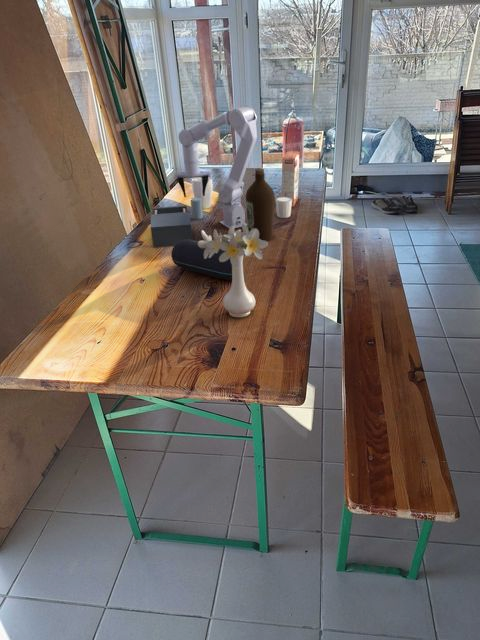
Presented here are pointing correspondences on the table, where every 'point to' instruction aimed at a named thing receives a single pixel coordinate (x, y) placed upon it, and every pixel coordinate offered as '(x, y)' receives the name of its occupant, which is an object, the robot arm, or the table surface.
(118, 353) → the table surface
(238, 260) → the flower vase
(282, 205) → the shot glass
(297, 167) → the cracker box
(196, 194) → the cup
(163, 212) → the drawer
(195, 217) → the jug
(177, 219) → the cabinet
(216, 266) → the portable speaker
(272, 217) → the olive oil
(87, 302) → the table surface
